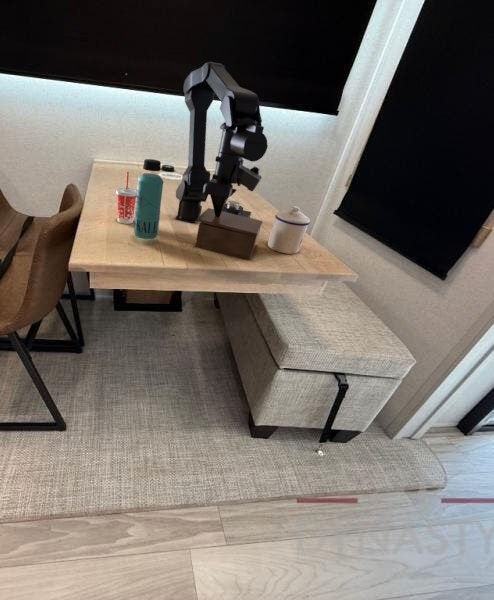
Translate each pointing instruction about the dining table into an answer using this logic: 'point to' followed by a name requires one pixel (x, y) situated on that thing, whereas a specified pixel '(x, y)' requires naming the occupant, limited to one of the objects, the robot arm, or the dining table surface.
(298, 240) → the teacup with lid
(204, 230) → the box
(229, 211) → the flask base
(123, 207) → the beverage cup
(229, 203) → the push lid
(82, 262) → the dining table surface
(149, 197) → the beverage bottle
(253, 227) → the lid
